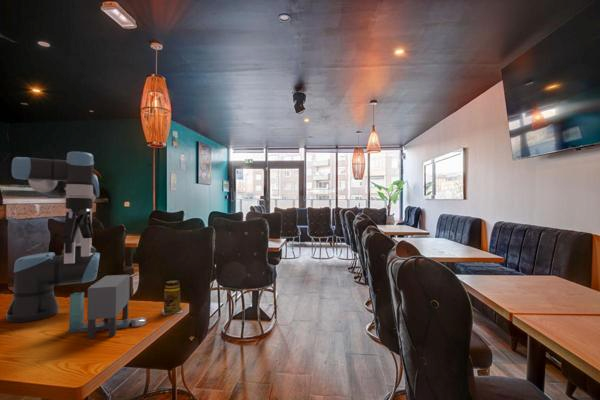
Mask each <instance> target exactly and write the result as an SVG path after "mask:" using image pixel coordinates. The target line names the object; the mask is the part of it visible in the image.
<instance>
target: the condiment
mask: <svg viewBox="0 0 600 400" xmlns="http://www.w3.org/2000/svg"><path fill="white" fill-rule="evenodd" d="M164 284H165V286H164V287H165V288H164V289H163V308H161V310H162V316H167V315H174V314H181V313H183V308H182V305H181V288H180V281H179V280H166V282H165V283H164Z"/></svg>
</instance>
